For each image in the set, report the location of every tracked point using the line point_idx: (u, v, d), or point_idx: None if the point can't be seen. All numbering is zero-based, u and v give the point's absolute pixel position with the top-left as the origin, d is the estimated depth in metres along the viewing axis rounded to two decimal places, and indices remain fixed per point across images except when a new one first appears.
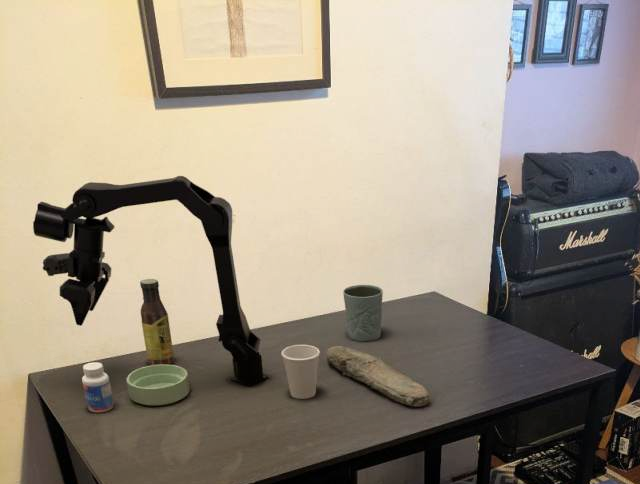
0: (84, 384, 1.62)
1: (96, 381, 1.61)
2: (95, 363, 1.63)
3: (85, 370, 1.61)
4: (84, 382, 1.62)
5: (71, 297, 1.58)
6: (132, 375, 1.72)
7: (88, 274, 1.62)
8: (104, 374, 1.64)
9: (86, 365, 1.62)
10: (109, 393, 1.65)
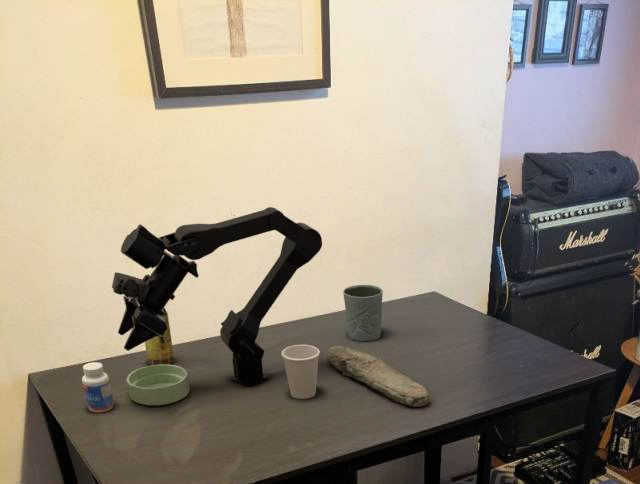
0: (84, 384, 1.62)
1: (96, 381, 1.61)
2: (95, 363, 1.63)
3: (85, 370, 1.61)
4: (84, 382, 1.62)
5: (147, 325, 1.54)
6: (132, 375, 1.72)
7: (157, 306, 1.59)
8: (104, 374, 1.64)
9: (86, 365, 1.62)
10: (109, 393, 1.65)
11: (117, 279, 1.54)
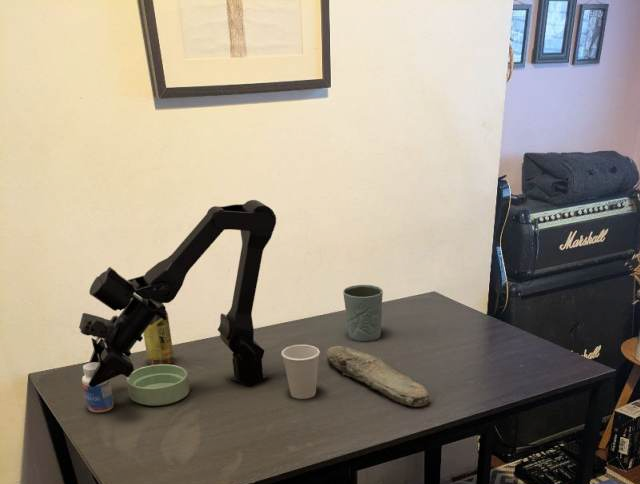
0: (84, 384, 1.62)
1: None
2: (95, 363, 1.63)
3: (85, 370, 1.61)
4: (84, 382, 1.62)
5: (114, 367, 1.55)
6: (132, 375, 1.72)
7: (125, 348, 1.60)
8: None
9: (86, 365, 1.62)
10: (109, 393, 1.65)
11: (85, 320, 1.55)
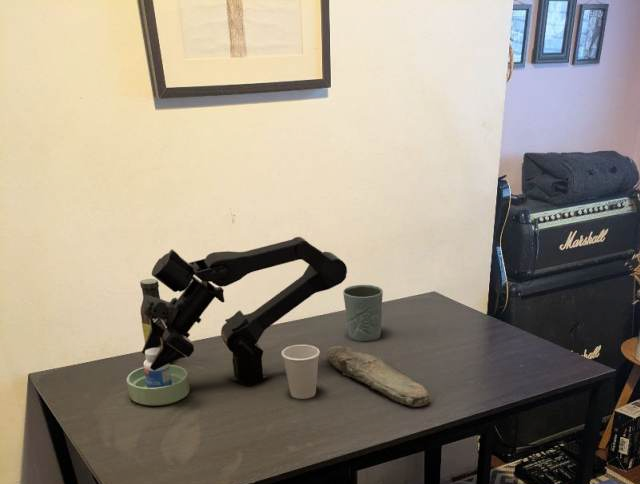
0: (146, 369, 1.67)
1: None
2: (156, 348, 1.68)
3: (147, 355, 1.66)
4: (146, 367, 1.67)
5: (176, 347, 1.59)
6: (132, 375, 1.72)
7: (184, 329, 1.65)
8: None
9: (148, 350, 1.67)
10: (169, 378, 1.70)
11: (147, 301, 1.59)
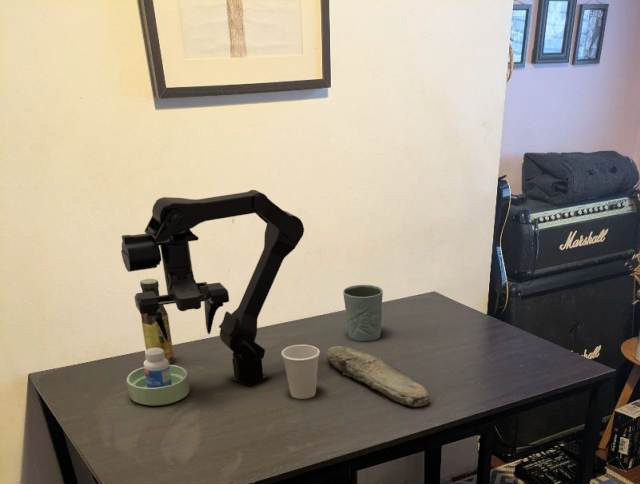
0: (146, 369, 1.67)
1: (157, 365, 1.67)
2: (156, 348, 1.68)
3: (147, 355, 1.66)
4: (146, 367, 1.67)
5: None
6: (132, 375, 1.72)
7: None
8: (164, 359, 1.69)
9: (148, 350, 1.67)
10: (169, 378, 1.70)
11: (199, 297, 1.55)
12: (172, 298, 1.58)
